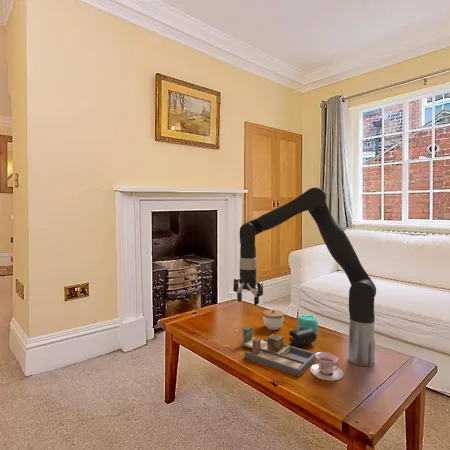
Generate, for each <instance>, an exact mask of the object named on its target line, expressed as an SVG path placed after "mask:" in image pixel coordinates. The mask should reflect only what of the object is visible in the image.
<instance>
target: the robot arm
mask: <svg viewBox="0 0 450 450" xmlns="http://www.w3.org/2000/svg"><path fill="white" fill-rule="evenodd" d="M326 201H327V195H326V192H325V191H324V190H323V189H322V188H320V187H311V188H309V189H307V190H306V191H305V192H303V193H302V194H300V195H299V196H298V197H295V198H294V199H292V200H291V201H289V202H287V203H285V204H283V205H280V206H278V207H277V208H274V209H272V210H270V211H268V212H266V213H264V214H262V215H260V216H259V217H257V218H254V219H252V220H250V221H247V222H244V223H243V224H242V225H241V226H240V227H239V245H240V249H239V251H240V252H239V277H237V278H234V279H233V289H232V291H233V292H235V293H236V299H237V302H239V303H241V302H242V301H243V290H244V291H246V290H247V291H249V292H251V293H252V294H253V298H254V299H253V305H254V306H258V304H259V303H260V297H261V296H263V295H264V287H263V286H264V285H263V281H257V248H256V247H257V246H256V236H257V235H260V234H261V233H263V232H265V231H269V230H272V229H273V228H276V227H277V226H280V225H282V224H283V223H285V222H287V221H288V220H290V219H291V218H294V216H296V215H299V214H301V213H304V212H306V211H307V212H309V215H311V218H312V219H313V220H314V222H315V224H316V225H317V228H318V230H319V233H320V236H321V238H322V240H323V243H324V245H325V246H326V249H327V250H328V252H329V253H330V256H331V257H332V258H333V259H334V261H335V262H336V263H337V264H338V265H339V266H340V268H341V269H342V270H343V271H344V273H345V275H346V277H347V278H348V281H349V283H350V287H349V290H348V313H349V324H348V325H349V327H348V359H347V360H348V361H349V362H350V363H352V364H353V365H356V366H360V367H369V368H372V366H373V365H374V363H375V352H376V351H375V349H376V338H375V319H376V317H375V316H376V315H375V297H376V294H377V288H376V284H375V283H374V282H373V280H372V279H371V277H370V276H369V275H368V273H367V272H366V270H365V269H364V268H365V267H363V266H362V265H363V264H361V262H360V259H359V257H358V255H357V253H356V251H355V249H354V247H353V245H352V243H351V241H350V239H349V238H348V235H347V233H346V231H344V229H343V228H342V226H341V225H340V224H339V223H338V222H337V220H336V219H335V218H334V217H333V215H332V213H331V211H330V208H329V206H328V204H327V202H326ZM239 285H240V286H239Z"/></svg>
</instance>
